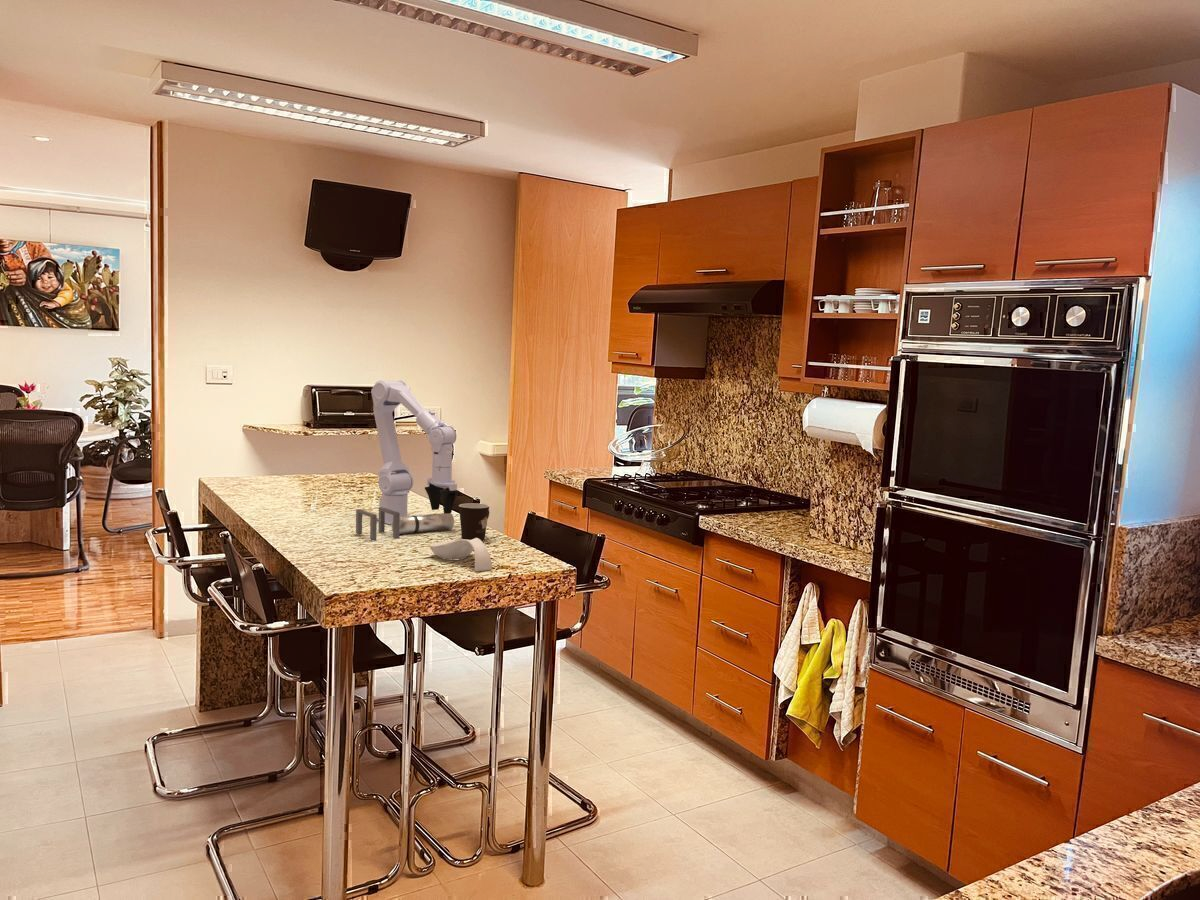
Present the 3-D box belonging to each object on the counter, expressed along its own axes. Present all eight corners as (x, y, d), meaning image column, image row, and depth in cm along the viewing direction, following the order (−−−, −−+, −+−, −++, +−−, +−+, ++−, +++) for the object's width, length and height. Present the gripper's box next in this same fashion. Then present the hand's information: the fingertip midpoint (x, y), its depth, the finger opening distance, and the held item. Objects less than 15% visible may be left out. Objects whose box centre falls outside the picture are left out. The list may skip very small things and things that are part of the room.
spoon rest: (421, 555, 236) (422, 528, 235) (462, 551, 242) (462, 525, 242) (463, 574, 216) (464, 545, 216) (506, 569, 223) (506, 541, 223)
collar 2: (378, 532, 264) (378, 507, 263) (382, 531, 264) (382, 507, 264) (395, 538, 255) (395, 513, 255) (399, 538, 256) (399, 512, 255)
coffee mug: (468, 544, 251) (469, 509, 250) (452, 539, 258) (453, 504, 257) (503, 540, 258) (504, 506, 257) (486, 535, 265) (487, 501, 264)
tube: (399, 536, 259) (399, 519, 259) (391, 532, 263) (391, 515, 262) (453, 530, 271) (454, 514, 270) (445, 527, 274) (446, 511, 274)
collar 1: (355, 534, 259) (356, 509, 259) (359, 533, 260) (360, 508, 259) (372, 540, 251) (372, 515, 250) (376, 540, 252) (376, 514, 251)
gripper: (466, 468, 266) (465, 513, 267) (441, 463, 277) (441, 507, 278) (445, 469, 261) (444, 515, 263) (421, 464, 272) (420, 508, 274)
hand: (441, 511), depth 270 cm, fingers open, 7 cm apart
